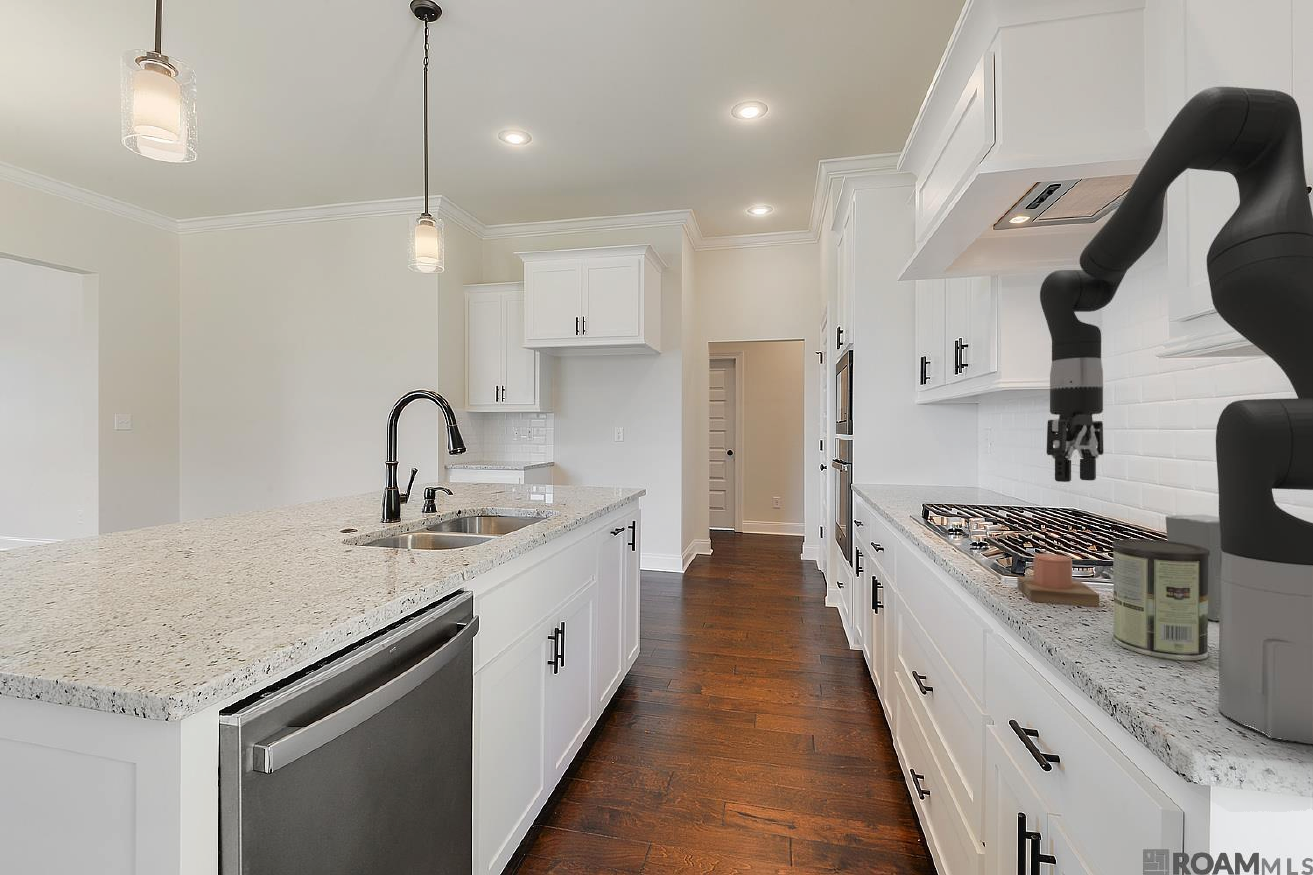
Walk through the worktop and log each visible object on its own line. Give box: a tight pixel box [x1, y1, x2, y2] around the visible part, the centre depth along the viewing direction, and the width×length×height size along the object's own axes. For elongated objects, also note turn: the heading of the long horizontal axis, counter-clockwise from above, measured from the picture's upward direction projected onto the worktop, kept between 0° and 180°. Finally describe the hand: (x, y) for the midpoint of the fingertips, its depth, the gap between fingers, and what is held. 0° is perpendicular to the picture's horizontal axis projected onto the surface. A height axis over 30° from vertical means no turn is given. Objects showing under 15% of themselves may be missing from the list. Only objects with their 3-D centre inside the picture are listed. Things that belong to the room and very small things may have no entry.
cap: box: [1032, 553, 1073, 589], centre depth 109 cm, size 6×6×5 cm
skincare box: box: [1165, 514, 1221, 622], centre depth 98 cm, size 8×7×16 cm
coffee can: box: [1111, 538, 1210, 662], centre depth 84 cm, size 10×10×14 cm
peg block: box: [1016, 576, 1100, 608], centre depth 108 cm, size 10×10×6 cm
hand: (1075, 480), depth 104 cm, fingers open, 8 cm apart
